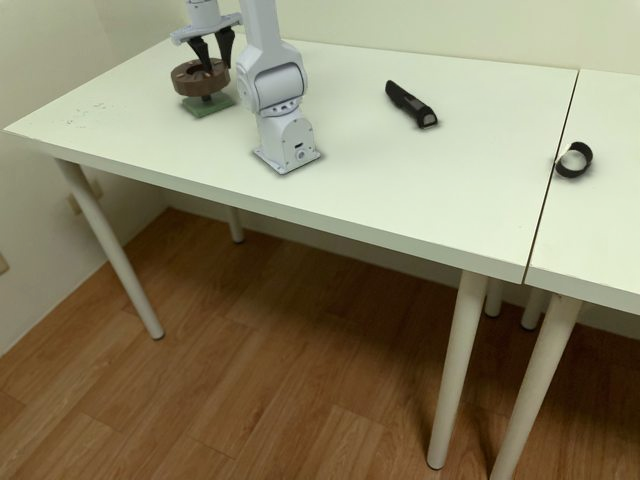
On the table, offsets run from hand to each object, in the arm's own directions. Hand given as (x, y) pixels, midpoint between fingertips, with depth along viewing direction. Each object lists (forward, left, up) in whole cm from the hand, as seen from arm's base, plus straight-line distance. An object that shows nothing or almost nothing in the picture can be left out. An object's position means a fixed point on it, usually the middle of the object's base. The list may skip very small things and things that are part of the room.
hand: (218, 70), depth 95 cm
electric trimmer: (-31, -23, -6) cm, 39 cm away
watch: (-61, -28, -6) cm, 67 cm away
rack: (0, +4, -6) cm, 7 cm away
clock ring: (0, +4, -1) cm, 4 cm away
